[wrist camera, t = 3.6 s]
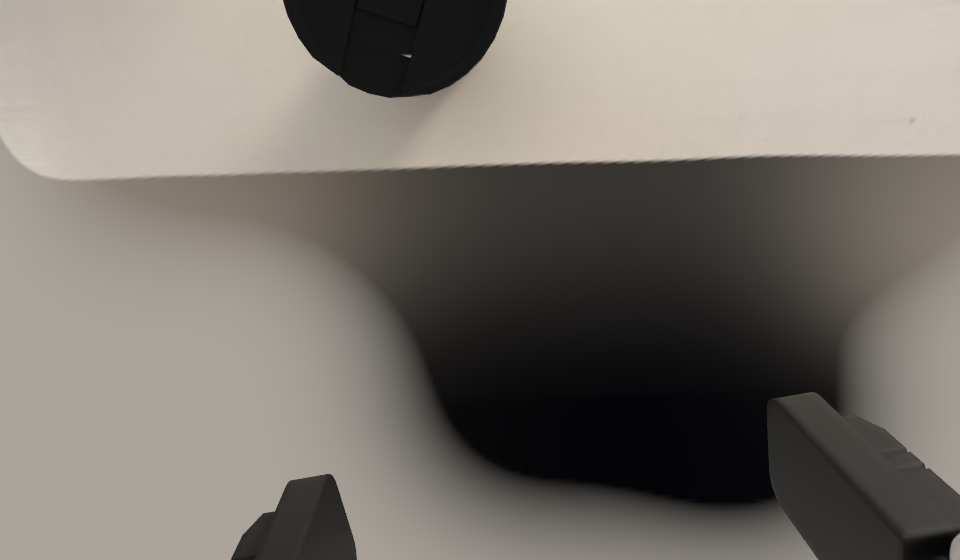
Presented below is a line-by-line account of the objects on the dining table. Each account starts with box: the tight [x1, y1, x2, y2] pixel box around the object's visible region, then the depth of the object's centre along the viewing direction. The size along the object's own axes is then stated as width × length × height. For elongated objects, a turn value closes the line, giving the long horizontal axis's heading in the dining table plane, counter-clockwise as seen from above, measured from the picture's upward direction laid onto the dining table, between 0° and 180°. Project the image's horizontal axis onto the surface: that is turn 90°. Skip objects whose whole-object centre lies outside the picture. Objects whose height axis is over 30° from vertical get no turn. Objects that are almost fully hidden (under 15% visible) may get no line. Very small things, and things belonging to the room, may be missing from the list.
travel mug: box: [283, 0, 507, 98], centre depth 26 cm, size 6×7×20 cm
